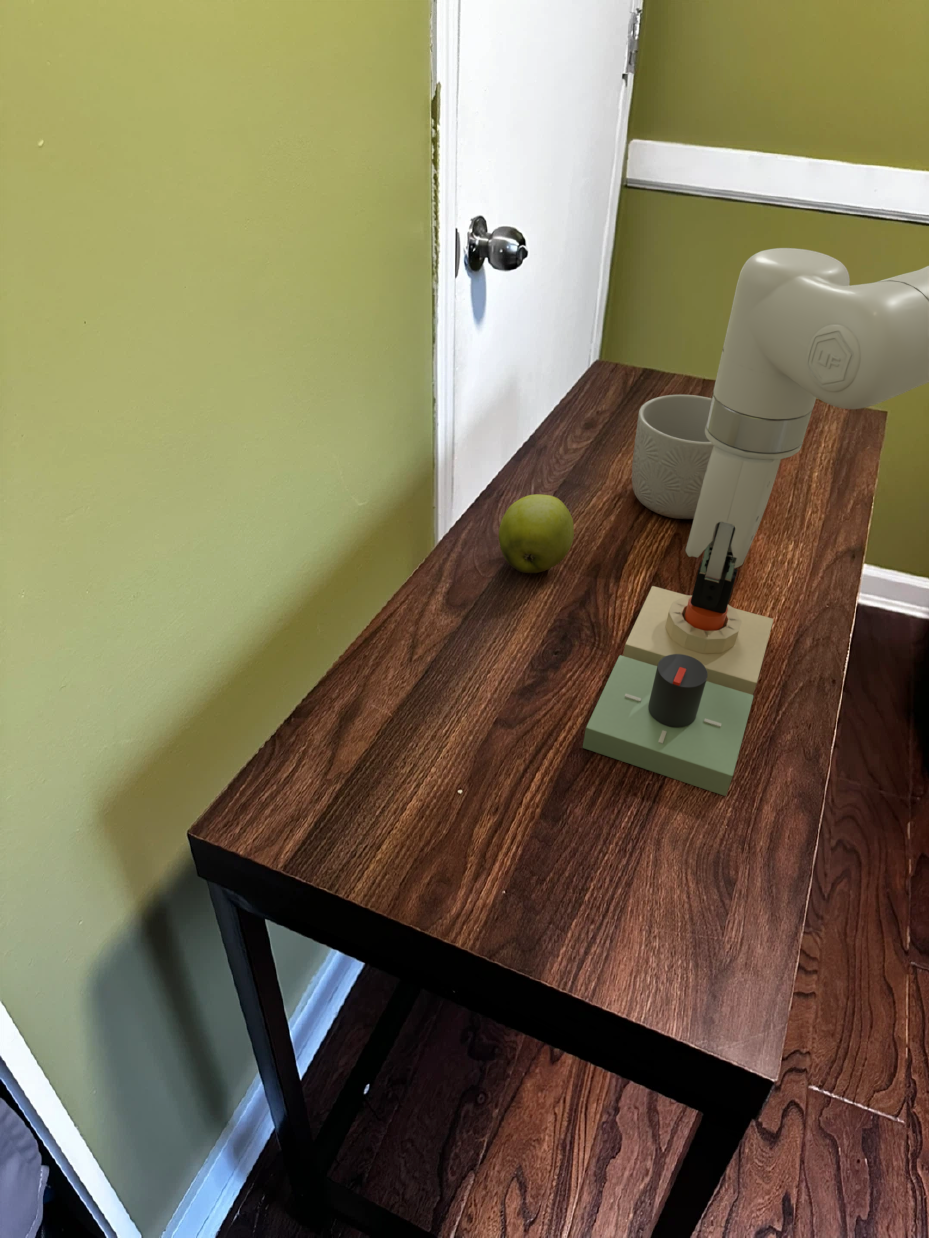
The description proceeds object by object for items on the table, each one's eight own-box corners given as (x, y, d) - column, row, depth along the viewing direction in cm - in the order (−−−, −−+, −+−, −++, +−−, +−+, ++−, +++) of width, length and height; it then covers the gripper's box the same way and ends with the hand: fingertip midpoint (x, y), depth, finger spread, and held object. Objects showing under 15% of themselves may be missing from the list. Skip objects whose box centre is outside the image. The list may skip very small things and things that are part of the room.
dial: (655, 688, 74) (665, 645, 71) (701, 703, 73) (713, 660, 70) (642, 717, 71) (652, 674, 68) (689, 734, 70) (701, 690, 67)
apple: (575, 547, 95) (583, 484, 90) (562, 595, 88) (570, 530, 83) (506, 536, 96) (510, 473, 91) (488, 582, 89) (492, 517, 84)
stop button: (727, 614, 81) (731, 599, 80) (719, 636, 78) (724, 621, 77) (689, 603, 82) (693, 588, 81) (680, 625, 79) (684, 610, 78)
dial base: (747, 715, 75) (754, 693, 74) (725, 796, 68) (733, 774, 67) (615, 674, 79) (619, 653, 77) (582, 748, 72) (586, 726, 70)
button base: (768, 636, 84) (778, 603, 81) (751, 700, 77) (762, 668, 74) (648, 602, 88) (655, 571, 85) (621, 661, 80) (628, 629, 78)
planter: (746, 525, 99) (770, 440, 93) (644, 533, 98) (661, 447, 91) (704, 472, 109) (723, 391, 102) (611, 478, 107) (624, 396, 100)
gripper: (726, 377, 74) (686, 553, 85) (688, 451, 63) (648, 640, 75) (817, 394, 71) (763, 572, 83) (793, 473, 61) (735, 665, 72)
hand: (709, 604), depth 79 cm, fingers closed
